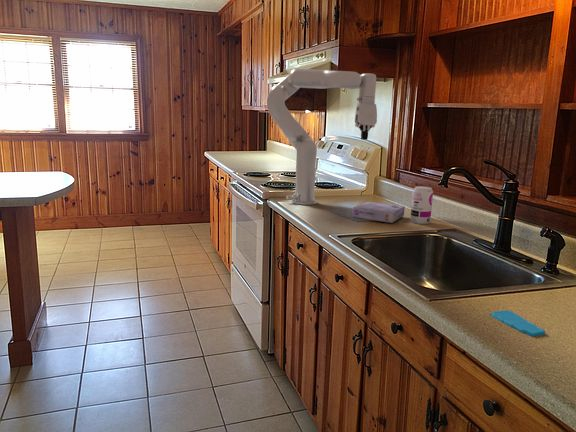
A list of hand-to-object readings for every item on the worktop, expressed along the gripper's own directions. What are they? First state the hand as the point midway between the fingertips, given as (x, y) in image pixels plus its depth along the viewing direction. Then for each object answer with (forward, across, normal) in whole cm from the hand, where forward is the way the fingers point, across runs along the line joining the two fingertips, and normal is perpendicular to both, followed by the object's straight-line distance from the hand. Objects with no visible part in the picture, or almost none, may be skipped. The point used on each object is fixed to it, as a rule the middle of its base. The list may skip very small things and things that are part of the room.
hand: (364, 139), depth 234 cm
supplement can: (+32, +3, -41) cm, 52 cm away
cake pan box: (+30, -2, -22) cm, 37 cm away
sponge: (+33, -45, -128) cm, 140 cm away
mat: (+32, -14, -21) cm, 41 cm away
